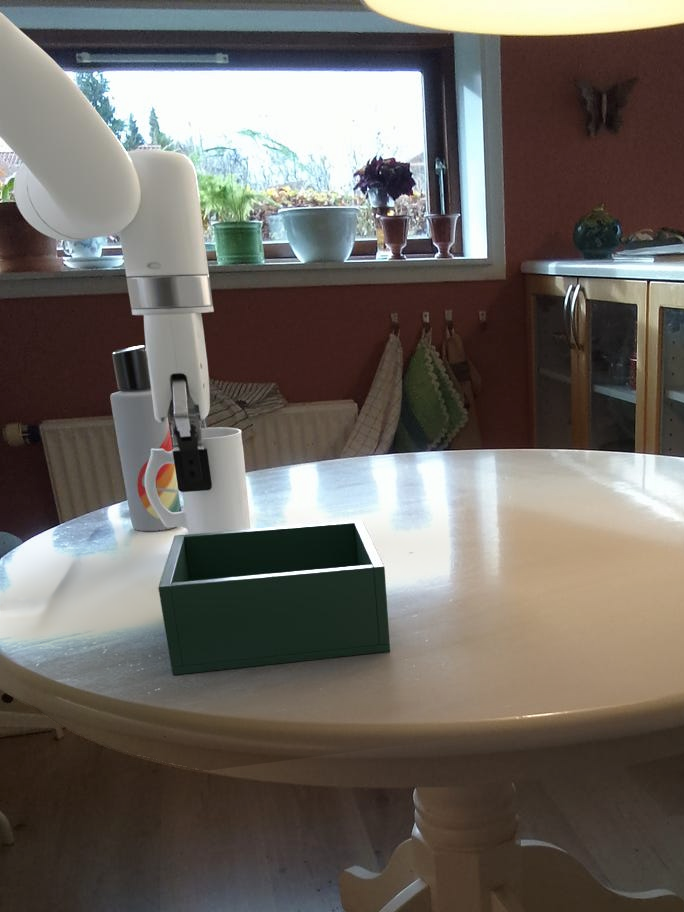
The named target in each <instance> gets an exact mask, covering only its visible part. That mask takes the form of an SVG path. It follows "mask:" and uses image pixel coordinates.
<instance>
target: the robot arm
mask: <svg viewBox="0 0 684 912" xmlns="http://www.w3.org/2000/svg"><path fill="white" fill-rule="evenodd" d="M0 138H1V139H2V140H3V142H4V143H5V144H6V145H7V146H8V148H10V149H11V151H13V153H14V154H15V155H16V156H17V158H19V160H20V161H21V162H22V163H21V164H20V165H19V166H18V169H16V172H15V175H14V179H13V197H14V200H15V203H16V207H17V209H18V210H19V212H20V214H21V215H22V217H23V218H24V220H25V221H26V222H27V223H28V225H30V226H31V227H32V228H34V229H35V230H36V231H38V232H39V233H41V234H43V235H44V236H47V237H49V238H52V239H54V240H59V241H64V242H78V241H85V240H90V239H97V238H104V237H115V236H117V237H119V239H120V246H121V252H122V257H123V264H124V270H125V277H126V283H127V284H126V285H127V289H128V290H127V291H128V296H129V302H130V309H131V315H132V316H143V331H144V341H145V350H146V352H147V360H148V368H149V376H150V383H151V388H150V389H151V391H152V399H153V408H154V417H155V419H156V420H157V421H158V422H159V423H163V422H164V421H165V419H166V418H167V417H168V416H169V418H170V428H171V437H172V438H171V439H172V448H173V449H174V451H173V458H174V465H175V471H176V478H177V485H178V491H179V493H182V492H191V491H205V490H210V489H211V488H212V482H211V474H210V467H209V460H208V452H207V448H205V449H204V444H203V435H202V428H208V426H207V420H206V418H207V417H208V415H209V413H210V409H211V407H210V406H211V402H210V401H211V398H210V397H211V396H210V395H211V394H210V376H209V365H208V356H207V347H206V341H205V330H204V323H203V316H202V315H203V313H204V314H205V313H214V311H215V309H214V303H213V302H214V301H213V295H212V286H211V279H210V272H209V265H208V257H207V248H206V241H205V234H204V233H205V232H204V226H203V217H202V208H201V201H200V193H199V185H198V177H197V172H196V168H195V165H194V163H193V162H192V160H191V159H190V158H189V157H188V156H186V155H185V154H183V153H181V152H176V151H171V150H162V149H161V150H160V149H136V150H127V151H126V149H125V147H124V146H123V144H122V143H121V142H120V140H119V139H118V138H117V136H116V135H115V134H114V132H113V130H112V129H111V128H110V127H109V126H108V124H107V122H106V121H105V120H104V119H103V117H102V116H101V114H100V113H99V112H98V111H97V109H96V108H95V106H94V105H93V104H92V103H91V102H90V100H89V99H88V98H87V96H86V95H85V94H84V92H83V91H82V90H81V89H80V88H79V87H78V85H77V84H76V83H75V81H74V80H73V79H72V78H71V77H70V75H68V74H67V72H66V71H65V70H64V69H63V68H62V67H61V66H60V65H59V64H58V63H57V62H56V61H55V60H54V59H53V58H52V57H51V56H50V55H49V54H48V53H47V52H46V51H45V50H43V48H41V47H40V46H39V45H38V44H37V43H36V42H35V41H33V40H32V39H31V38H30V37H29V36H28V35H26V34H25V33H24V31H22V30H20V28H19V27H18V26H16V24H14V23H13V22H12V21H11V20H10V19H9V18H8V17H7V16H6V15H4V14H3V13H2V12H1V11H0ZM195 430H196V431H195Z"/></svg>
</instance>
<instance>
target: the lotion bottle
mask: <svg viewBox="0 0 684 912" xmlns="http://www.w3.org/2000/svg"><path fill="white" fill-rule="evenodd" d="M111 355H112V356H111V357H112V361H113V368H114V374H115V379H116V384H117V389H118V391H116V392H113V393H110V396H109V397H110V405H111V411H112V417H113V418H112V419H113V423H114V429H115V435H116V440H117V448H118V452H119V459H120V463H121V465H120V466H121V470H122V476H123V477H122V478H123V482H124V488H125V495H126V500H127V505H128V512H129V517H130V523H131V526H132V529H134V530H135V529H136V530H135V531H139V530H140V531H139V532H158V531H159V530H160V531H166V530H172V529H174V528H176V527H170V528H167V527H165V526H164V524H163V523H162V521H161V520H160V518H159V516H158V515H157V513H156V512H155V510H154V508H153V507H152V505H151V503H150V501H149V499H148V496H147V493H146V489H145V472H146V468H147V465H148V462H149V459H150V455H151V449H164V450H165V451H167V452H170V451H172V450H173V443H172V438H171V437H172V436H171V431H170V424H169V417H168V416H167V418H166V419H165V421H164V422H163V423H159V422H158V421H157V420H156V419H155V417H154V408H153V399H152V391H151V383H150V376H149V368H148V360H147V352H146V346H145V345H137V346H131V347H128V348H120V349H116V350H115V351H113V352H112V353H111ZM156 490H157V493H158V496H159V499H160V501H161V502H162V504H163V505H164V507H165V508H166V509H167V510H169V511H170V512H173V513H175V512H180V511H182V505H181V497H180V491H179V490H178V485H177V478H176V471H175V465H174V464H172V463H168V464H164V465H163V466H161V468H160V469H159V470H158V472H157V475H156ZM165 529H166V530H165ZM160 531H159V532H160Z"/></svg>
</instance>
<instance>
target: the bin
mask: <svg viewBox="0 0 684 912" xmlns="http://www.w3.org/2000/svg"><path fill="white" fill-rule="evenodd" d="M386 582H387V581H386V569H385V565H384V563H383V561H382V559H381V557H380V555H379V552H378V551H377V548H376V546H375V544H374V542H373V540H372V538H371V536H370V534H369V531H368V530H367V528H366V525H365V523H364V521H363V520H354V521H353V520H348V521H339V522H338V521H337V522H336V521H335V522H324V523H313V524H301V525H289V526H275V527H264V528H263V527H262V528H261V527H260V528H252V529H251V528H250V529H249V530H236V531H224V532H212V533H199V534H188V533H186V534H176V535H174V536H173V540H172V543H171V545H170V550H169V551H168V555H167V559H166V562H165V565H164V568H163V572H162V574H161V578H160V580H159V584H158V586H157V588H158V594H159V601H160V606H161V607H160V608H161V613H162V619H163V624H164V631H165V632H164V633H165V638H166V644H167V651H168V655H169V663H170V667H171V669H170V670H171V674H172V676H178V675H187V674H195V673H196V674H197V673H204V672H205V673H206V672H213V671H222V670H223V671H224V670H233V669H242V668H251V667H260V666H268V665H269V666H270V665H277V664H286V663H296V662H305V661H315V660H322V659H323V660H325V659H333V658H340V657H341V658H342V657H348V656H349V657H352V656H360V655H361V656H362V655H368V654H370V655H371V654H378V653H385V652H386V653H389V652H390V651H391V645H390V643H391V642H390V641H391V640H390V628H389V626H390V625H389V611H388V598H387V597H388V596H387V583H386Z"/></svg>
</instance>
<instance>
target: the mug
mask: <svg viewBox="0 0 684 912" xmlns="http://www.w3.org/2000/svg"><path fill="white" fill-rule="evenodd" d="M195 431H196V430H195ZM202 435H203V444H204V449H205V448H207V452H208V460H209V467H210V474H211V482H212V488H211V489H210V490H205V491H191V492H181V497H182V503H183V509H181V511H180V512H175V513H173V512H170V511H169V510H167V509H166V508H165V507H164V505H163V504H162V502H161V501H160V499H159V496H158V493H157V490H156V475H157V472H158V470H159V469H160V468H161V466H163V465H164V464H168V463H172V464H174V458H173V451H174V448H172V451H170V452H167V451H165V450H164V449H151V455H150V459H149V462H148V465H147V468H146V472H145V489H146V493H147V496H148V499H149V501H150V503H151V505H152V507H153V508H154V510H155V512H156V513H157V515H158V516H159V518H160V520H161V521H162V523H163V524H164V526H165V527H167V528H170V527H175V528H177V527H179V528H184V529H186V530H187V534H199V533H212V532H224V531H236V530H249V529H251V518H250V517H251V516H250V507H249V506H250V505H249V496H248V486H247V473H246V464H245V453H244V444H243V437H242V430H241V429H239V428H234V427H221V426H220V427H219V426H218V427H207V428H202Z"/></svg>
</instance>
